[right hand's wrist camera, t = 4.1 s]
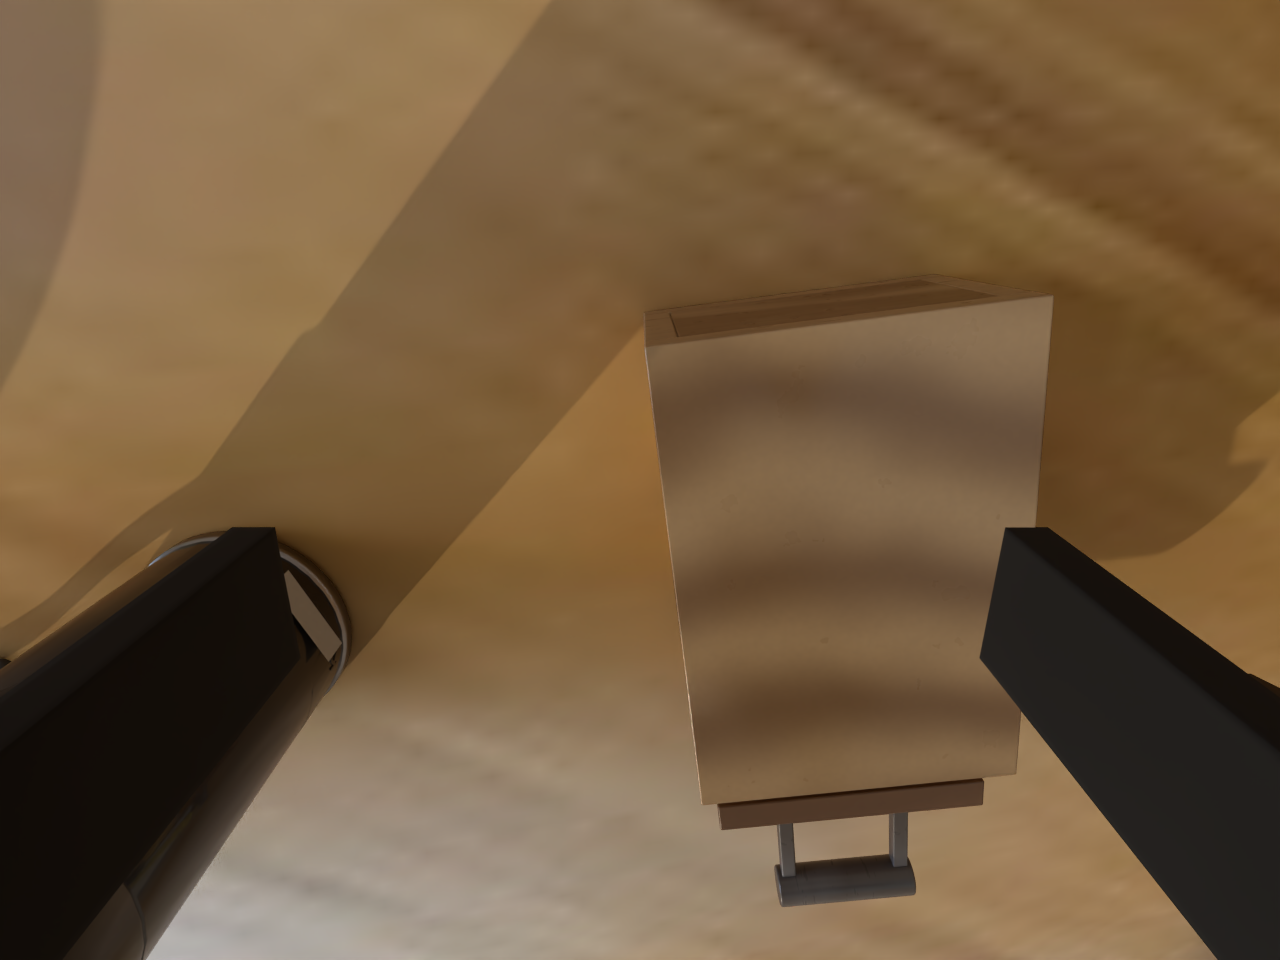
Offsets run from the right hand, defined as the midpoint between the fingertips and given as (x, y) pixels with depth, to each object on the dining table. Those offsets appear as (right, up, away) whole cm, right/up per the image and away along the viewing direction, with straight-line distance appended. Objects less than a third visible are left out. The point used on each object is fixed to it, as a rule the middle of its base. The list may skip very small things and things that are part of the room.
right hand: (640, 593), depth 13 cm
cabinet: (+7, +1, +17) cm, 18 cm away
